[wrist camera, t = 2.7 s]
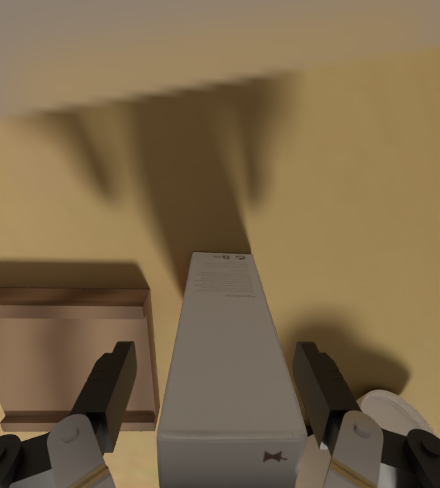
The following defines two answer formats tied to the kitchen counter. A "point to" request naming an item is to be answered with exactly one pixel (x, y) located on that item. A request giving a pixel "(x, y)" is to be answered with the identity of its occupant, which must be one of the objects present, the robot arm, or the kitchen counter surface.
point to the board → (71, 352)
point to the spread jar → (378, 408)
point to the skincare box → (228, 386)
